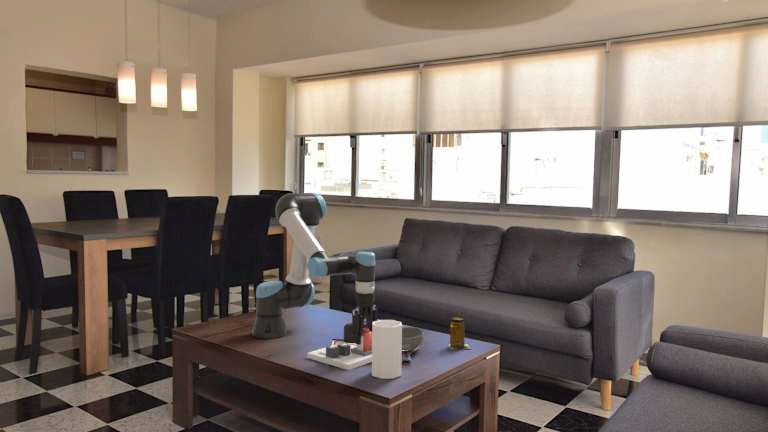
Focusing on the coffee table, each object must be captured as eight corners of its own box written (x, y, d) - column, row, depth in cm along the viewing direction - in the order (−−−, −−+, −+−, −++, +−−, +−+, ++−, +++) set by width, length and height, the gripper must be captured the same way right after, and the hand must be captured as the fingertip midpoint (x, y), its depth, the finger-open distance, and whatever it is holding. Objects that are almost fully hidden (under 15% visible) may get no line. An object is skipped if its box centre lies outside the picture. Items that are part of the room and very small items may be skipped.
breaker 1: (325, 356, 216) (325, 346, 216) (331, 354, 219) (331, 344, 219) (333, 358, 214) (333, 348, 214) (338, 356, 216) (338, 346, 216)
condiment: (448, 344, 242) (448, 316, 242) (468, 344, 242) (468, 317, 242) (450, 349, 235) (450, 320, 234) (470, 349, 235) (471, 321, 234)
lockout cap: (356, 352, 222) (356, 328, 222) (364, 349, 226) (365, 326, 226) (365, 354, 219) (365, 331, 219) (374, 351, 223) (374, 328, 222)
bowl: (373, 353, 228) (374, 334, 227) (388, 342, 244) (388, 324, 244) (416, 358, 222) (416, 338, 221) (428, 347, 238) (429, 328, 238)
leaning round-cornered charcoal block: (348, 348, 234) (348, 326, 234) (342, 345, 238) (343, 323, 238) (380, 342, 244) (381, 321, 243) (374, 340, 248) (375, 318, 247)
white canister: (366, 377, 200) (366, 325, 199) (377, 367, 210) (378, 318, 209) (395, 381, 196) (396, 328, 195) (406, 371, 206) (406, 321, 205)
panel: (307, 357, 221) (307, 349, 221) (343, 346, 236) (343, 338, 236) (348, 370, 207) (348, 360, 207) (383, 357, 222) (383, 349, 222)
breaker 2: (337, 354, 219) (337, 344, 219) (342, 352, 222) (342, 342, 222) (344, 356, 217) (345, 346, 217) (350, 354, 219) (350, 344, 219)
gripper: (356, 296, 212) (356, 357, 213) (387, 289, 226) (386, 347, 227) (342, 293, 217) (341, 353, 218) (372, 287, 230) (372, 343, 232)
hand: (364, 350), depth 223 cm, fingers closed on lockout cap, 5 cm apart
